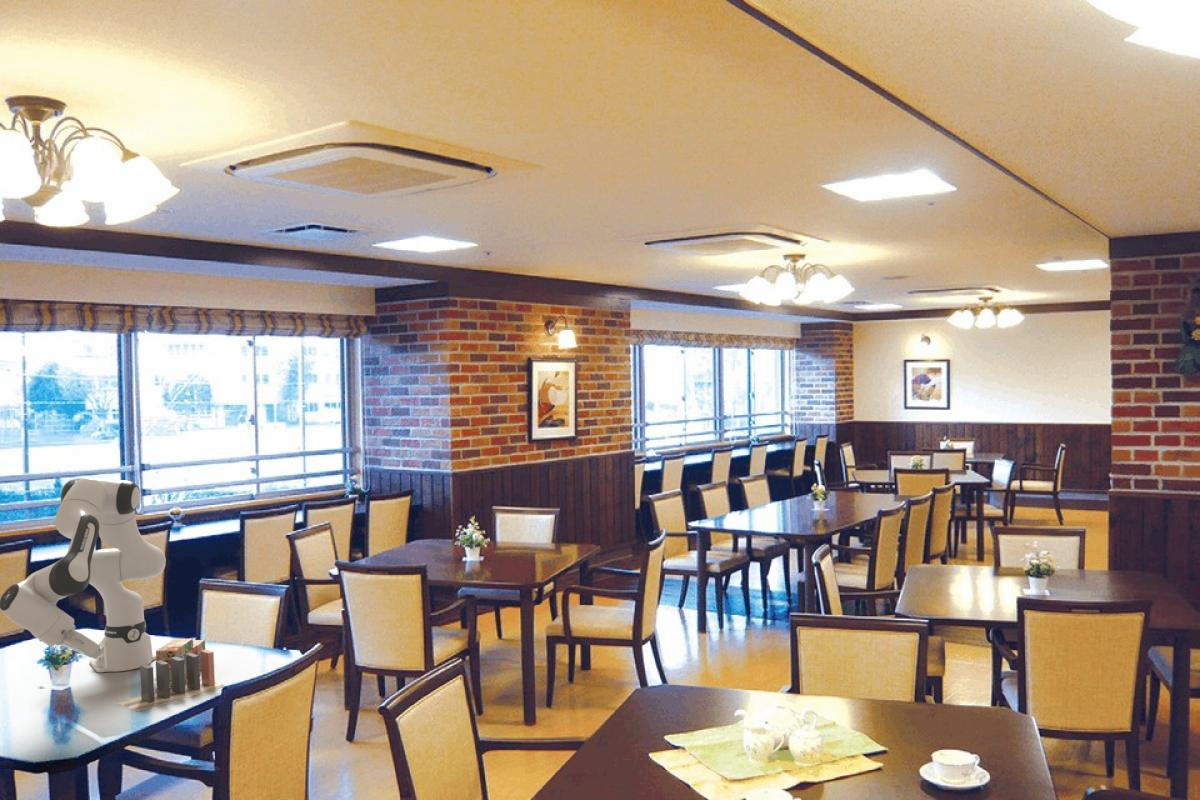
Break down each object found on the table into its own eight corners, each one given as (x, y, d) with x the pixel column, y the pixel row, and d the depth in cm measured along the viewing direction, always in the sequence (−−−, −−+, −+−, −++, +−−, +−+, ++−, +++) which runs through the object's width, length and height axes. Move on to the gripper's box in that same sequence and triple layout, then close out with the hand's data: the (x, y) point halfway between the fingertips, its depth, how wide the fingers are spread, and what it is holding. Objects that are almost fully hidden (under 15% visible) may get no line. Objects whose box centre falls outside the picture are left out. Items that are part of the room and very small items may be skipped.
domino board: (117, 706, 277) (117, 701, 277) (204, 682, 297) (204, 678, 296) (136, 715, 268) (136, 711, 268) (225, 690, 288) (225, 686, 288)
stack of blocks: (187, 668, 312) (186, 630, 312) (206, 668, 312) (205, 630, 312) (157, 690, 291) (155, 650, 290) (177, 689, 291) (176, 649, 290)
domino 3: (180, 694, 282) (178, 660, 281) (172, 691, 285) (170, 657, 285) (185, 693, 283) (183, 659, 283) (177, 689, 286) (176, 656, 286)
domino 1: (149, 703, 275) (147, 668, 275) (141, 699, 278) (139, 665, 278) (154, 701, 276) (153, 667, 276) (147, 698, 279) (145, 664, 279)
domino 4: (195, 690, 285) (193, 657, 285) (187, 687, 288) (185, 654, 288) (200, 689, 286) (198, 655, 286) (192, 685, 290) (191, 652, 289)
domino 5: (209, 686, 288) (208, 653, 288) (201, 683, 292) (200, 650, 291) (214, 685, 290) (213, 652, 289) (206, 681, 293) (205, 649, 293)
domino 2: (164, 698, 278) (163, 664, 278) (157, 695, 282) (155, 661, 281) (170, 697, 280) (168, 663, 279) (162, 693, 283) (161, 660, 283)
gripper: (79, 624, 254) (119, 652, 261) (51, 613, 268) (90, 640, 275) (62, 645, 251) (103, 672, 258) (34, 632, 264) (74, 659, 272)
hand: (96, 655), depth 267 cm, fingers closed
